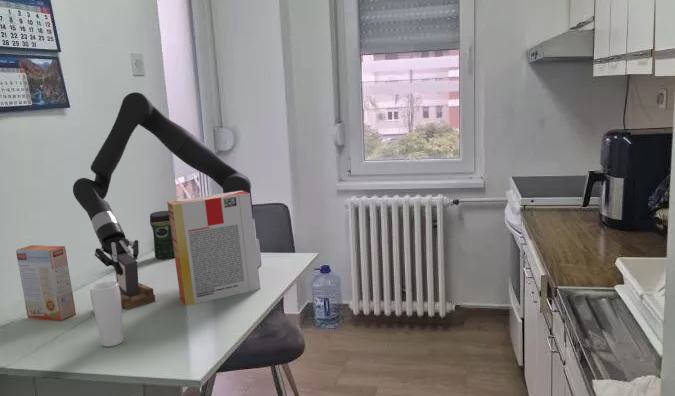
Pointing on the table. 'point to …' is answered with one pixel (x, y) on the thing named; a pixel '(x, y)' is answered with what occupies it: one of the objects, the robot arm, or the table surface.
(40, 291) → the cracker box
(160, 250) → the coffee jar
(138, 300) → the wooden channel tray
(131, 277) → the dark grey block
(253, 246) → the pasta box
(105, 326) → the drinking glass
